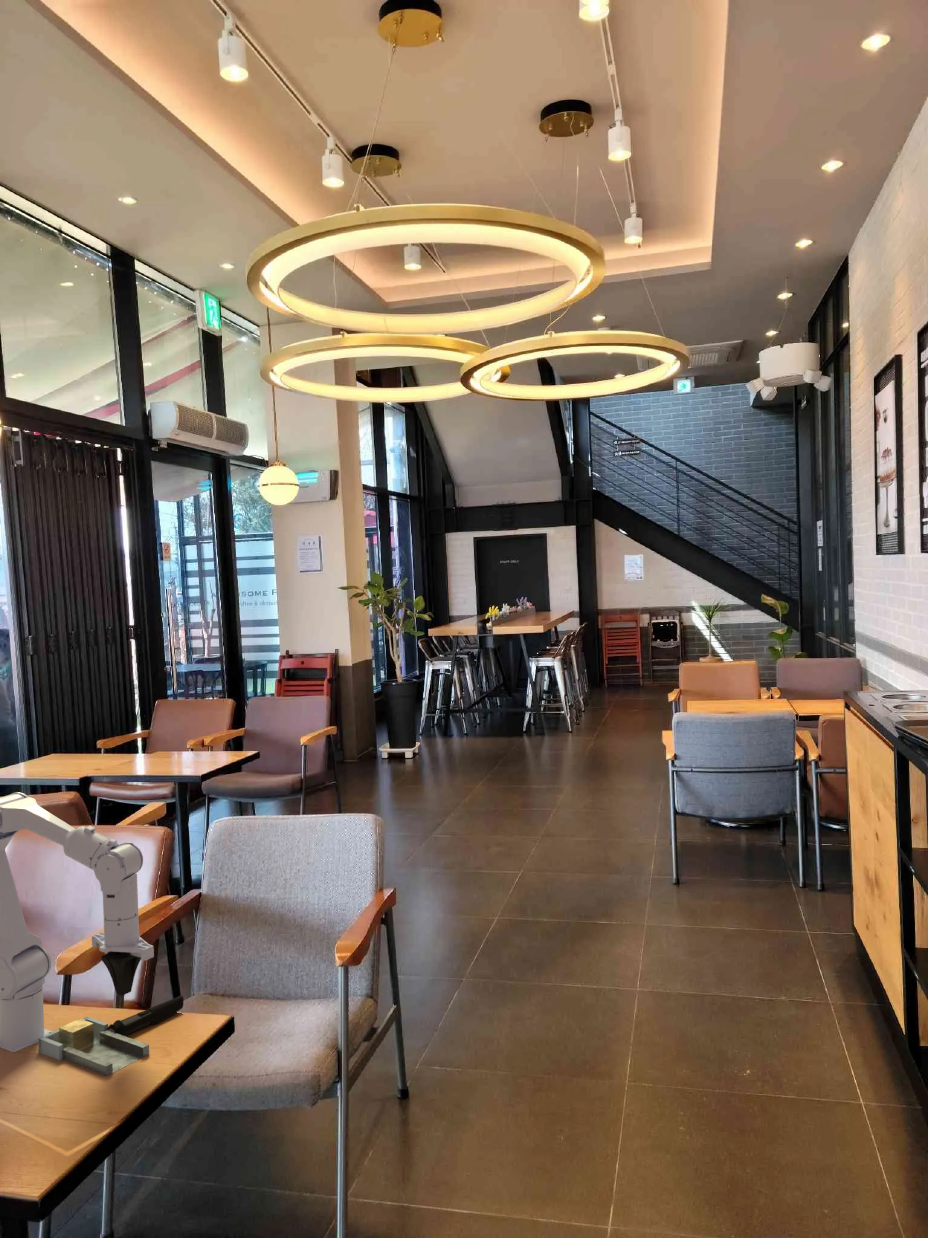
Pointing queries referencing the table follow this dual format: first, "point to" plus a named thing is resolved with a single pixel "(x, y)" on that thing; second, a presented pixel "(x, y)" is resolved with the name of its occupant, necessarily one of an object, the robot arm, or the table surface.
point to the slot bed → (107, 1053)
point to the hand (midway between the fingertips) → (123, 993)
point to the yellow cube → (76, 1034)
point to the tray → (54, 1048)
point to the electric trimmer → (147, 1017)
